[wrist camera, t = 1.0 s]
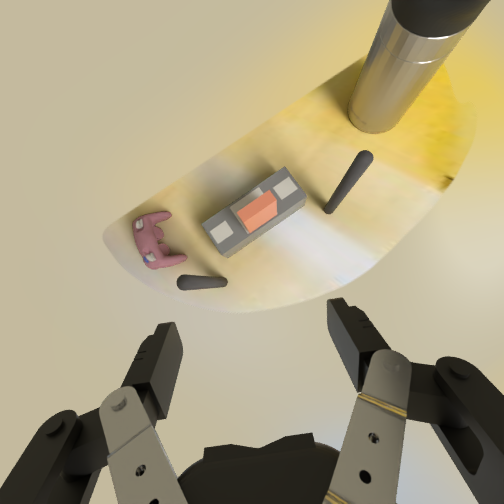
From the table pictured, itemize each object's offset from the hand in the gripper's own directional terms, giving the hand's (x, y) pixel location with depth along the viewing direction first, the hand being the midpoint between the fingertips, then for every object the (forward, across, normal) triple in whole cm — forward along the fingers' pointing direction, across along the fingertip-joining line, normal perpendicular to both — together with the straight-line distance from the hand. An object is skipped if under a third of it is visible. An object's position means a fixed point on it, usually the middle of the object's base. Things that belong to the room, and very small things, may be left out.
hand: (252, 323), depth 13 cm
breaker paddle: (+26, -2, +3) cm, 27 cm away
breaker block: (+32, -2, +4) cm, 32 cm away
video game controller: (+32, +15, +6) cm, 36 cm away
